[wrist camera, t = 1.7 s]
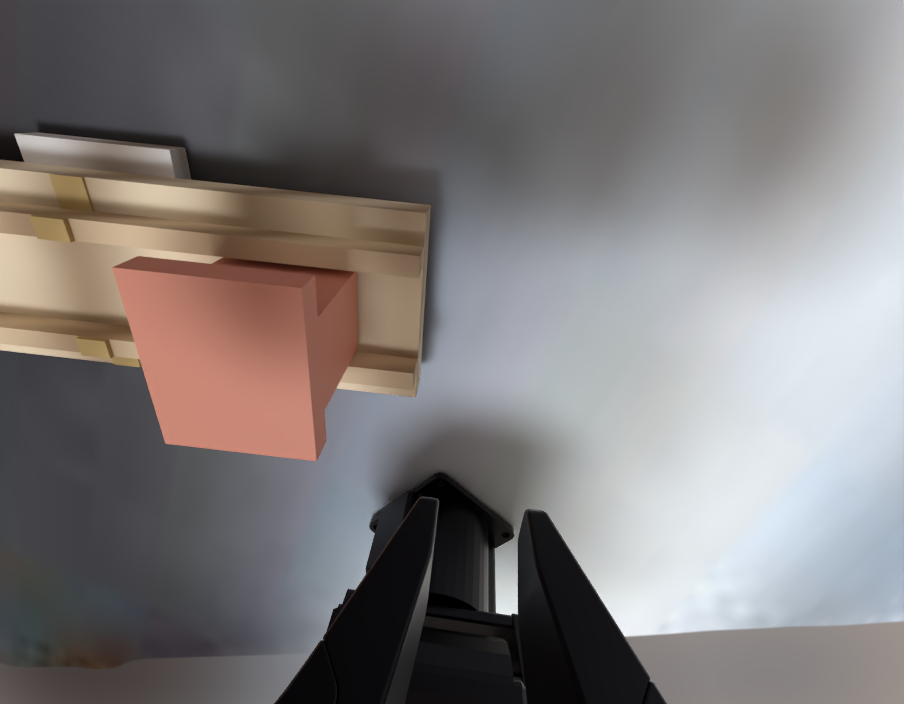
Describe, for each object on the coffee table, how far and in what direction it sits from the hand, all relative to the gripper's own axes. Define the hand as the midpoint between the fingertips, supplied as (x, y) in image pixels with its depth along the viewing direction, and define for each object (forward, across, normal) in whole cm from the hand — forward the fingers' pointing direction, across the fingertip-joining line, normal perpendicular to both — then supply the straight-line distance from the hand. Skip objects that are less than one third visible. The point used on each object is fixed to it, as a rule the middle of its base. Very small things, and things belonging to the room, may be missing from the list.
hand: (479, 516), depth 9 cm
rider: (+9, +8, 0) cm, 12 cm away
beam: (+12, +16, 0) cm, 20 cm away
